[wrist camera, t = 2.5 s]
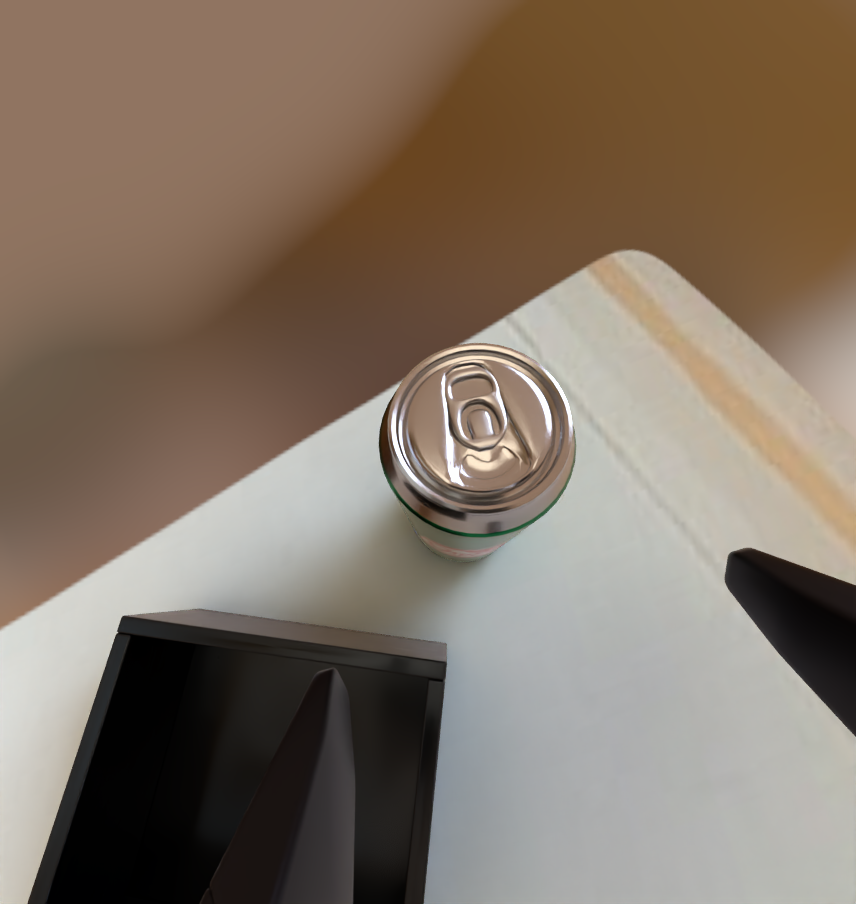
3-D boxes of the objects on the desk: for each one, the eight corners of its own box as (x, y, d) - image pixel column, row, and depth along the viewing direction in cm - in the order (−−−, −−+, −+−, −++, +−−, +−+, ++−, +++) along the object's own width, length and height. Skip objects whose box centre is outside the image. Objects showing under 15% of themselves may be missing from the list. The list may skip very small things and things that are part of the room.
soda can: (423, 572, 20) (392, 555, 9) (403, 475, 22) (355, 352, 10) (523, 550, 20) (624, 503, 9) (496, 455, 22) (551, 310, 10)
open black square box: (415, 962, 16) (401, 1128, 11) (117, 902, 16) (-16, 1030, 12) (446, 643, 19) (446, 662, 14) (198, 608, 20) (121, 615, 15)
